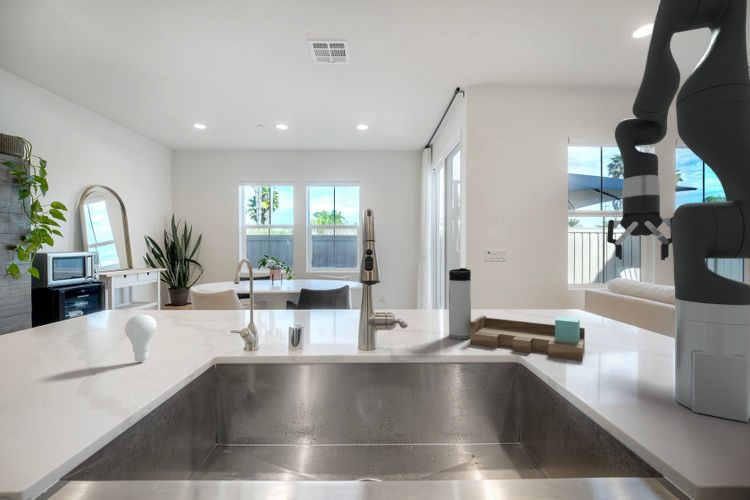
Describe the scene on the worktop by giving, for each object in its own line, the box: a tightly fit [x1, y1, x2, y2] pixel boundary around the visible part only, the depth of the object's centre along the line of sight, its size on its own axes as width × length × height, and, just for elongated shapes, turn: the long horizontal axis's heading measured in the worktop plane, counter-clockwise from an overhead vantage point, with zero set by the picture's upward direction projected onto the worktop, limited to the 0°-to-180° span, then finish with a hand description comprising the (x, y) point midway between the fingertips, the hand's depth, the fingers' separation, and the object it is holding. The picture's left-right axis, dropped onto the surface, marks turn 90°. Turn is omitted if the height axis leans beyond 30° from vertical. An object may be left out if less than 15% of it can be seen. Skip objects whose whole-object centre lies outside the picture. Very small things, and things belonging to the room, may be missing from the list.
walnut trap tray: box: [469, 315, 586, 362], centre depth 91 cm, size 11×26×6 cm, turn 56°
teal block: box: [554, 316, 581, 343], centre depth 87 cm, size 5×5×5 cm
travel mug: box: [448, 267, 472, 341], centre depth 102 cm, size 6×7×20 cm
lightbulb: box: [124, 313, 158, 363], centre depth 80 cm, size 6×6×11 cm
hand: (641, 259), depth 88 cm, fingers open, 8 cm apart
